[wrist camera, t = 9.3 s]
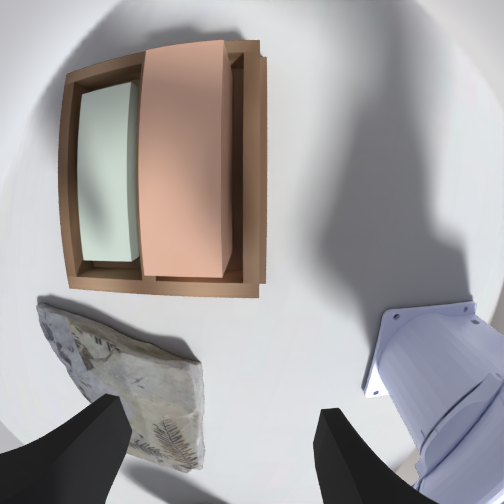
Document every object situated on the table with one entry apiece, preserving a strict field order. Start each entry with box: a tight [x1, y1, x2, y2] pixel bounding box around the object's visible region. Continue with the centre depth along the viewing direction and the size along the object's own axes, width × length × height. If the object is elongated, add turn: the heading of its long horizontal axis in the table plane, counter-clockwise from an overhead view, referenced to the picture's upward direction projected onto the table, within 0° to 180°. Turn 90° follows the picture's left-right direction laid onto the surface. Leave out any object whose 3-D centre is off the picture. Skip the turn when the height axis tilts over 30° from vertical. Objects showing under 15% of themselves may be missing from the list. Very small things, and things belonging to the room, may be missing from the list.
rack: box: [58, 40, 267, 298], centre depth 14 cm, size 13×14×3 cm
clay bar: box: [138, 40, 234, 278], centre depth 13 cm, size 3×10×5 cm, turn 0°
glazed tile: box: [77, 82, 140, 262], centre depth 14 cm, size 3×10×2 cm, turn 0°
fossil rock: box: [36, 303, 205, 473], centre depth 20 cm, size 18×15×2 cm
